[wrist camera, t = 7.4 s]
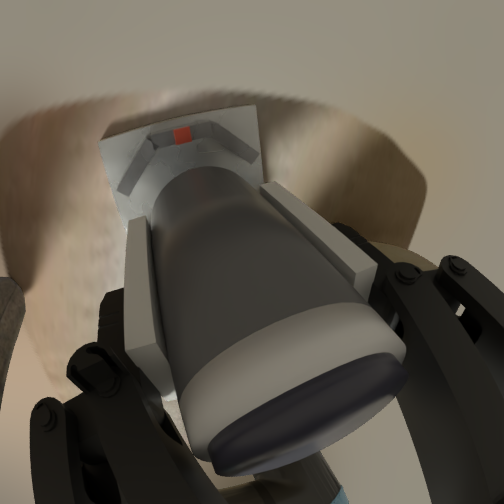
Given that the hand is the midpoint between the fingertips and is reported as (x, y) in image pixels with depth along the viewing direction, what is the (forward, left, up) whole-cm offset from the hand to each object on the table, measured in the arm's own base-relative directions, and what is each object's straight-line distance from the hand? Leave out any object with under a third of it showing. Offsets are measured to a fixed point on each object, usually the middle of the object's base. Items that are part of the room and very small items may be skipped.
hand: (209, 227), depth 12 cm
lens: (0, 0, -1) cm, 1 cm away
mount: (0, 0, -6) cm, 6 cm away
